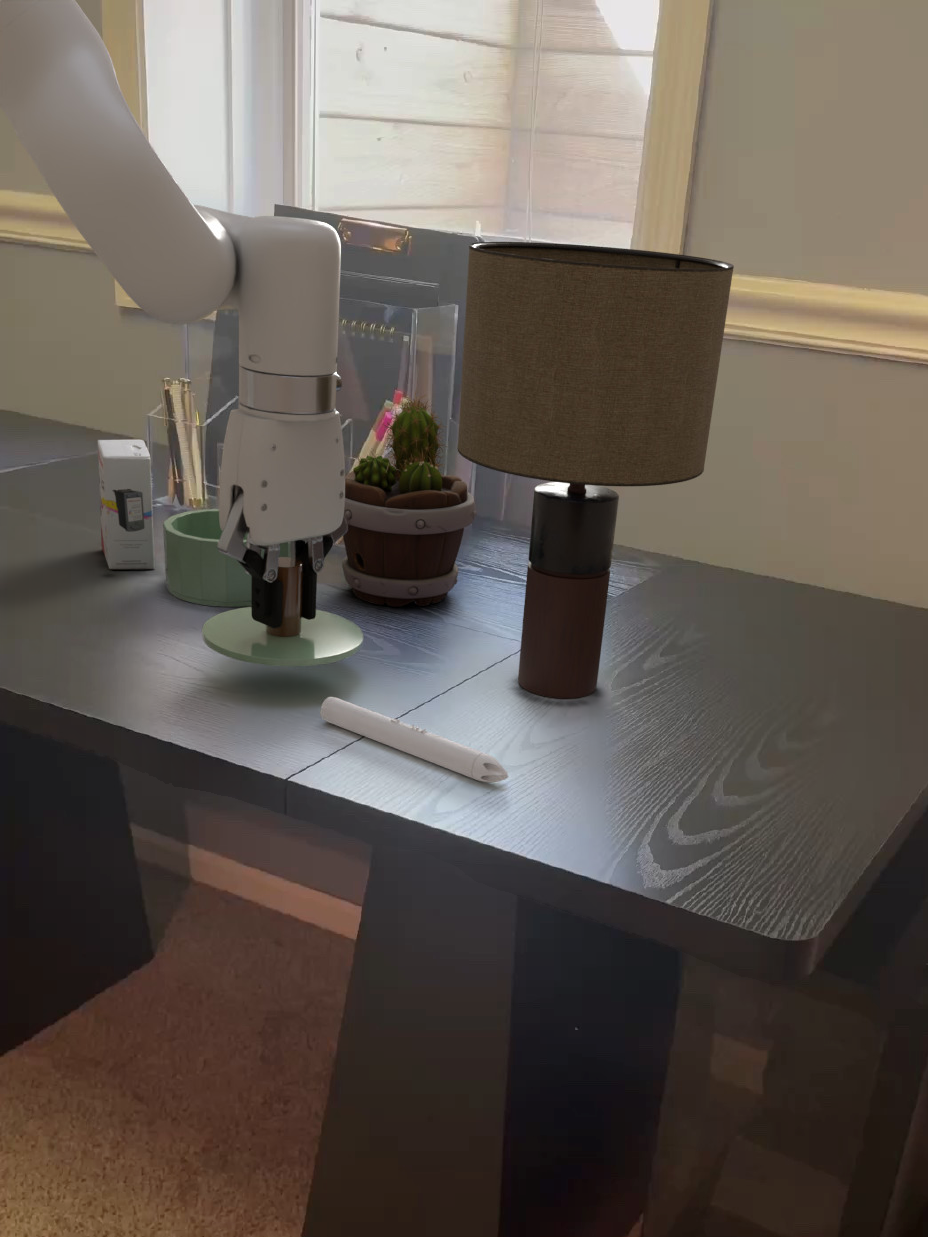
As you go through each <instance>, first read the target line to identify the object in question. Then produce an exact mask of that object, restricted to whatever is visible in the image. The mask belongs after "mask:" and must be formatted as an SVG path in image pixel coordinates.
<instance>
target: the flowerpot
mask: <svg viewBox="0 0 928 1237" xmlns="http://www.w3.org/2000/svg"><path fill="white" fill-rule="evenodd" d="M417 390H418V388H417V387H416V388H415V392H414V398H413V399H411V398H410V397H409V396H405V395H404V397H403V400H406V401H405V403H403V402H401V407H399V409H400V413H397V409H395V414H393V413H391V417H390V420H391V422H389V421H387V425H388V426H387V425H385V424H384V423H382V425H383V426H384V427H386V428H387V431H386V435H387V436H389V437H387V439H386V441H387V443H386V444H387V445H384V447H385V448H387V451H389V452H387V454H388V455H389V456H388V457H383V453H384V450H382V451H383V452H382V453H381V454H380V455H379V453H377V455H376V450H375V449H372V451H368V452H367V453H366V457H361V456H360V452H358V453H357V460H358V465H357V466H355V467H354V468H353V469H352V471H350V472H348V473H346V474H345V505H344V517H345V520H346V522H347V525H348V530H347V532H346V533H345V534H344V535H343V536H342V538H343V543H344V549H345V552H346V556H345V557H344V558H343V559H342V561H341V567H342V572H343V576H344V579H345V582H346V584H347V585H348V586H350V587H351V591H352V592H353V593H354V594H353V595H354V596H355V597H356V598H358V599H360V600H362V601H364V602H367V603H371V604H373V605H379V606H380V605H381V606H382V605H384V604H386V605H387V606H389V607H393V608H394V607H395V608H396V607H397V608H398V607H403V606H406V605H409V604H410V603H412V602H414V603H415V605H417V606H419V607H426V606H428V605H430V604H437V603H440V602H441V601H443V600H444V599H445V598H446V597H447V596H448V594H449V592H450V591H451V590H452V589H453V588H454V587H455V585H456V584H458V576H459V566H458V565H457V563H456V560H457V558H458V554H459V551H460V547H461V544H462V540H463V536H464V532H465V531H464V530H465V528H467V527H469V526H471V524H473V522H474V520H475V518H476V517H477V516H478V513H477V510H476V502H475V501H476V500H475V498H474V496H473V495H472V494H471V492H468V485H467V483H466V482H465V481H463V480H462V478H460V477H459V476H457V475H453V474H448V475H445V474H443V473H442V472H440V471H442V470H441V468H444V469H445V467H444V466H446V465H445V464H444V463H441V460H439V461H438V459H442V458H444V455H443V456H440V454H441V453H442V452H444V449H443V448H442V447H444V448H447V445H446V444H443V442H444V438H443V437H444V435H443V434H442V433H445V430H443V428H448V427H447V426H443V422H442V421H441V418H440V417H439V414H437V413H435V412H436V411H435V409H434V410H432V409H430V408H429V407H432V406H434V404H431V405H430V404H429V403H428V402H429V400H427V401H426V402H422V401H421V399H423V398H424V397H426V396H427V394H425V395H423V396H421V397H420V395H418V396H417ZM416 397H417V398H416ZM419 397H420V398H419ZM439 419H440V420H439ZM439 430H441V431H439ZM389 431H390V433H389ZM438 432H439V433H438ZM439 439H442V441H441V440H439ZM390 450H391V451H390ZM369 453H371V455H372V456H371V455H368V454H369ZM392 459H393V461H392ZM440 467H441V468H440Z"/></svg>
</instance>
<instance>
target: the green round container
mask: <svg viewBox="0 0 928 1237" xmlns="http://www.w3.org/2000/svg"><path fill="white" fill-rule="evenodd" d="M162 529H163V550H164V551H163V552H164V569H165V571H164V572H165V582H166V587H167V588H166V589H167V591H168V592H169V593H170V594H171V595H172V596H173V597H175V598H177V599H180V600H182V601H185V602H188V603H191V604H192V603H193V604H196V605H202V606H209V607H219V608H220V607H221V608H246V607H251V584H252V576H251V575H249V574H247V573H246V572H245V570H244V567H243V566H242V565H241V564H240V563H239V562H238V561H237V560H236V559H234V558H232V557H230V556H228V555H226V554H223V553H221V552H220V551H218V549H217V545H218V542H219V540H220V537H221V534H222V532H223V531H222V530H221V528H220V523H219V508H207V509H206V508H205V509H196V510H189V511H184V512H181V513H177V514H173V515H171V516H169V517H168V518H167V519H166V520H165V521H163V522H162ZM246 542H247V533H246V534H245V536H244V539H243V544H244V545H245V546H246ZM264 550H265V549H262V548H261V557H262V558H264ZM279 557H288V558H292V556H291V542H285V543H280V552H279Z"/></svg>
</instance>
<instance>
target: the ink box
mask: <svg viewBox="0 0 928 1237" xmlns="http://www.w3.org/2000/svg"><path fill="white" fill-rule="evenodd" d="M97 454H98V455H97V456H98V457H97V458H98V482H99V483H98V485H99V486H98V487H99V508H100V509H99V510H100V536H101V537H100V539H101V540H100V541H101V542H100V543H101V549H102V552H103V555H104V558H105V561H106V564H107V566H108V569H109V570H155V568H156V567H155V565H156V564H155V563H156V562H155V560H156V559H155V537H154V512H153V511H154V510H153V487H152V467H151V466H152V464H151V462H152V461H151V455H150V452H149V450H148V447H147V445H146V443H145V440H144V439H136V438H135V439H97Z"/></svg>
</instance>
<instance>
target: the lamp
mask: <svg viewBox="0 0 928 1237" xmlns="http://www.w3.org/2000/svg"><path fill="white" fill-rule="evenodd" d="M467 262H468V263H467V264H468V265H467V280H466V282H467V283H466V295H465V296H466V298H465V314H464V315H465V316H464V334H463V351H462V369H461V382H460V383H461V384H460V399H459V400H460V402H459V418H458V419H459V420H458V437H457V452H458V453H459V454H460V456H461V457H463V458H464V459H466V460H467V461H469V462H471V463H473V464H475V465H478V466H480V467H482V468H483V467H484V468H486V469H489V470H493V471H497V472H500V473H504V474H508V475H513V476H517V477H522V478H528V479H533V480H540V481H547V482H544V483H541V484H538V485H536V486H535V487H534V489H533V500H532V502H533V503H532V513H531V524H530V535H529V536H530V537H529V549H528V562H527V568H526V569H527V570H526V580H525V593H524V604H523V616H522V626H521V627H522V628H521V640H520V650H519V663H518V676H517V680H518V684H519V685H520V686H521V688H523V689H524V690H526V691H528V692H530V693H532V694H535V695H538V696H543V697H546V698H553V699H577V698H582V697H586V696H588V695H591V694H592V693H594V692H595V691H596V689H597V685H598V680H599V672H600V671H599V670H600V661H601V652H602V645H603V636H604V628H605V627H604V626H605V621H606V620H605V619H606V613H607V612H606V611H607V602H608V594H609V588H610V587H609V586H610V579H611V578H610V577H611V567H612V560H613V550H614V542H615V533H616V525H617V518H618V517H617V516H618V508H619V500H620V495H619V493H618V492H616V491H615V490H613V489H610V488H607V487H652V486H665V485H672V484H679V483H683V482H687V481H690V480H694V479H696V478H698V477H700V476H701V475H703V473H704V471H705V463H706V456H707V450H708V443H709V436H710V435H709V434H710V429H711V423H712V417H713V411H714V410H713V409H714V404H715V403H714V402H715V396H716V389H717V382H718V375H719V368H720V363H721V362H720V361H721V354H722V349H723V341H724V335H725V329H726V321H727V314H728V307H729V301H730V295H731V294H730V293H731V286H732V279H733V273H734V268H735V266H734V264H732V263H729V262H726V261H723V260H717V259H711V258H707V257H701V256H692V255H685V254H679V253H669V252H662V251H653V250H652V251H651V250H642V249H633V248H624V247H622V248H621V247H613V246H611V247H610V246H597V245H584V244H570V243H554V242H553V243H552V242H529V241H481V242H480V241H479V242H474V243H469V245H468V261H467Z"/></svg>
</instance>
